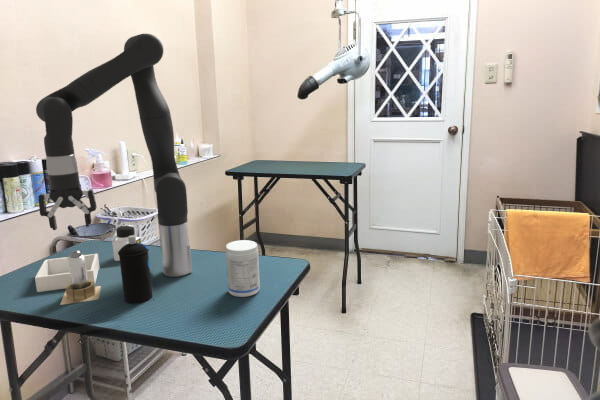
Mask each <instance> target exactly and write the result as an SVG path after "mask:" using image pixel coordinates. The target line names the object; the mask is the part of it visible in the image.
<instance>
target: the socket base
mask: <svg viewBox="0 0 600 400" xmlns="http://www.w3.org/2000/svg"><path fill="white" fill-rule="evenodd" d="M88 284H89V286H88V287H86V288H84V289H77V290H73V289H72V284H69V285H67V287H66V288H65V291H64V294H63V296H62V298H61V301H60V304H59V305H60V306H61V305H68V304H77V303H82V302H83V303H84V302H90V301H96V300H99V298H100V295H101V289H102V285H97V286H96V282H95V283H94V281H90V280H88Z"/></svg>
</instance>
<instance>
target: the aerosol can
mask: <svg viewBox="0 0 600 400" xmlns="http://www.w3.org/2000/svg"><path fill="white" fill-rule="evenodd" d="M136 237H137V236H136V234H135V235H131V236H129V237H128V240H129V243H128V244H126V245H125V246H123V247H122V248H121V249H120V250H119V252H118V255H119V258H120V261H119V264H120V265H119V266H120V274H121V283H122V289H123V298H124V299H123V300H124V302H125V303H126V304H130V305H137V304H143V303H146V302H149V301H150V300H152V298H153V302H154V301H155V299H154V297H153V287H152V279H151V278H152V276H151V270H150V269H151V268H150V258H149V257H150V255H149V251H150V249H149V247H147V245H145V244H144V243H142V242H141V243H137V242H136Z"/></svg>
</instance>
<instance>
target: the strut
mask: <svg viewBox="0 0 600 400" xmlns="http://www.w3.org/2000/svg"><path fill="white" fill-rule="evenodd" d="M85 255H86V254H84V253H82V252H81V251H80V250H78V249H74V250H72V251H71V252H70V253H69V255H68V256H67V257H68V263H69V270H70V277H71V284H72V289H73V290H77V289H84V288H86V287H88V286H89V284H88V277H87V270H86V263H85Z"/></svg>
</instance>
